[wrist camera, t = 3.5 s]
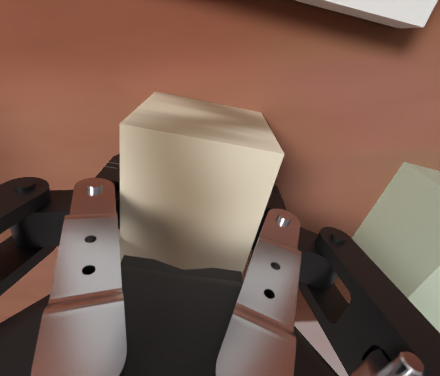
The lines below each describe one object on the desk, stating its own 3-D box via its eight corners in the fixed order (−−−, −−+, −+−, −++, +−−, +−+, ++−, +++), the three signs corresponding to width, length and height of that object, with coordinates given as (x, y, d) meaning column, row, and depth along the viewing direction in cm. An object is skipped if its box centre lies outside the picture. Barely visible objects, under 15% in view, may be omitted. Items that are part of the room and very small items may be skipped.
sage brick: (480, 181, 14) (591, 242, 10) (404, 266, 18) (463, 339, 14) (402, 160, 14) (487, 217, 9) (339, 253, 17) (380, 325, 13)
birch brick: (261, 112, 12) (284, 153, 8) (229, 225, 16) (234, 296, 11) (155, 91, 12) (119, 123, 7) (147, 212, 15) (120, 282, 11)
